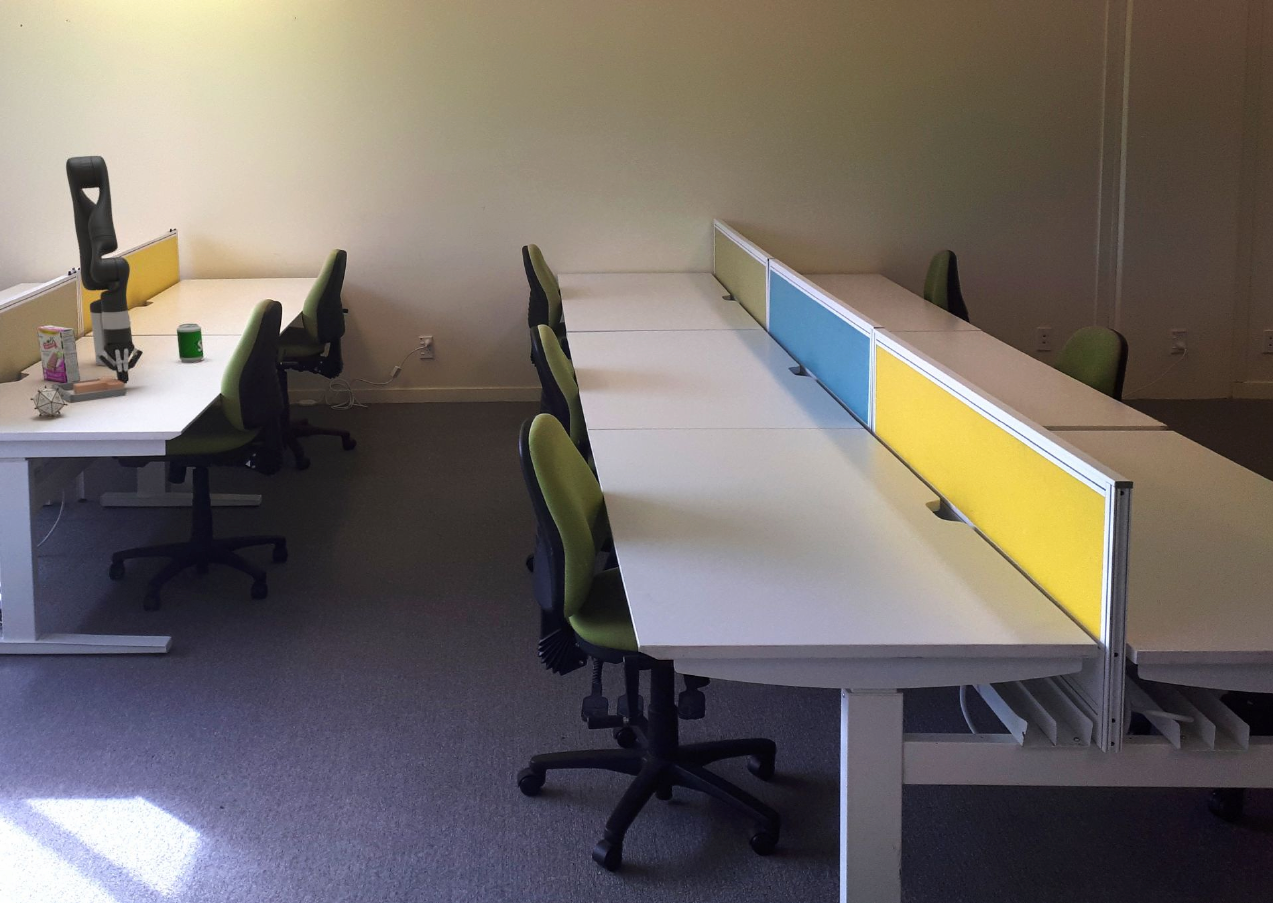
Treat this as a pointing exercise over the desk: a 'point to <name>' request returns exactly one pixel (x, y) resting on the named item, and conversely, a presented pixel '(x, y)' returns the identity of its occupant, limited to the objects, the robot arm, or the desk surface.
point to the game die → (49, 401)
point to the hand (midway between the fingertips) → (123, 383)
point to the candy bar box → (58, 354)
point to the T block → (98, 385)
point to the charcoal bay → (85, 396)
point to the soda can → (190, 343)
